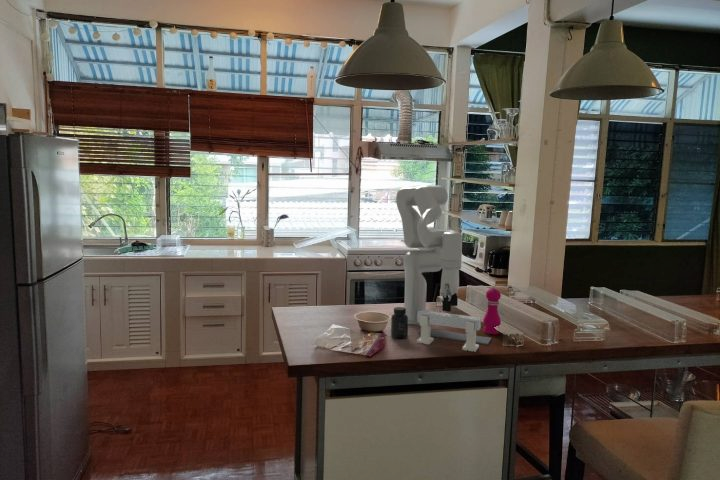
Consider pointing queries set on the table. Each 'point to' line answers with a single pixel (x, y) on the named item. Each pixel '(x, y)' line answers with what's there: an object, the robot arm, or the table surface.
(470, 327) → the post right
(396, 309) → the supplement bottle
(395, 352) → the table surface
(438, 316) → the rail
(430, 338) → the post left
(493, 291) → the pepper mill
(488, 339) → the mat
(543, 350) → the table surface
